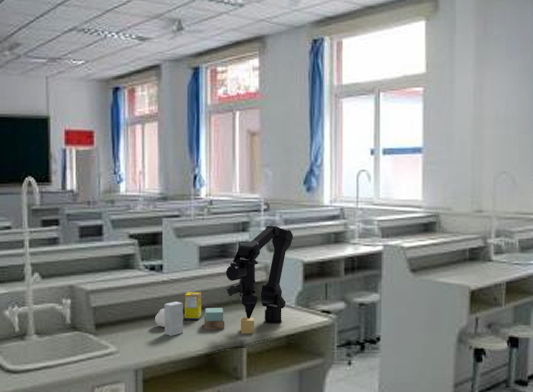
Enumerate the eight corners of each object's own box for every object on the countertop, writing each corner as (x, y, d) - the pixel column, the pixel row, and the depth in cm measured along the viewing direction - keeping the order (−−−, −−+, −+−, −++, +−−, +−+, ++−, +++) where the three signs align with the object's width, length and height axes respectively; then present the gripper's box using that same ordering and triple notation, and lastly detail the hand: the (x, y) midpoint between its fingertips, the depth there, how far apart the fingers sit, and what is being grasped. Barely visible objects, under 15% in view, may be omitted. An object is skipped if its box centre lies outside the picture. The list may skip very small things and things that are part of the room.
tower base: (223, 324, 245) (223, 315, 245) (224, 329, 237) (224, 321, 237) (204, 324, 244) (204, 316, 244) (204, 330, 237) (204, 321, 236)
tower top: (222, 316, 245) (222, 307, 244) (223, 320, 238) (223, 312, 238) (205, 316, 244) (205, 308, 244) (205, 321, 237) (205, 312, 237)
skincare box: (176, 330, 234) (176, 301, 233) (183, 333, 231) (183, 303, 230) (164, 333, 230) (163, 303, 229) (170, 336, 227) (170, 305, 226)
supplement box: (201, 316, 256) (201, 291, 255) (198, 320, 250) (198, 294, 249) (187, 316, 256) (187, 291, 256) (184, 319, 250) (184, 294, 250)
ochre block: (253, 329, 237) (253, 317, 237) (254, 333, 232) (254, 320, 232) (240, 329, 236) (240, 317, 236) (241, 333, 231) (241, 320, 231)
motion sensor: (164, 323, 245) (163, 304, 245) (178, 325, 242) (178, 307, 241) (151, 327, 238) (151, 308, 238) (166, 330, 235) (166, 311, 234)
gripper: (226, 272, 241) (226, 309, 242) (228, 281, 223) (228, 322, 224) (253, 272, 243) (253, 309, 243) (257, 281, 224) (257, 321, 225)
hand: (247, 315), depth 234 cm, fingers open, 9 cm apart
